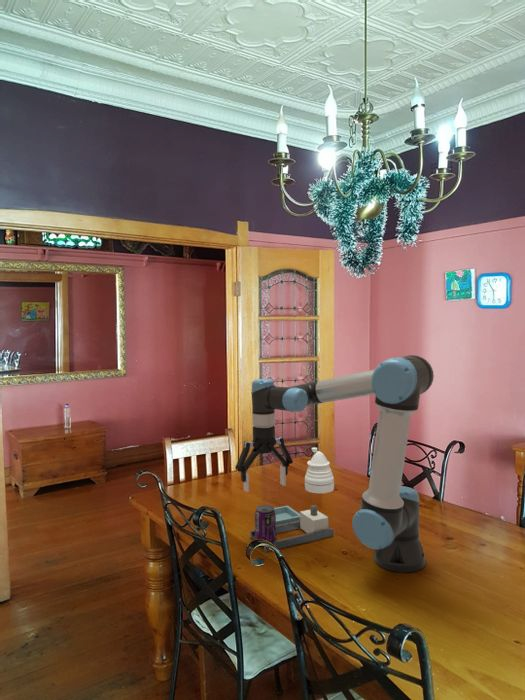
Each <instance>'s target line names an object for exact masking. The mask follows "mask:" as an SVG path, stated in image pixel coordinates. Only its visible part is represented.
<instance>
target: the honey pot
mask: <svg viewBox="0 0 525 700" xmlns="http://www.w3.org/2000/svg"><path fill="white" fill-rule="evenodd" d="M311 451H312V452H313V453H314V454H313V455H312V457H311V459H310V460H307V462H306V464H307V469H306V472H305V475H304V490H305V491H306V492H309V493H313V494H327V493H331V492H333V491H334V490H335V478H334V475H333V472H332V468H331V466H330V465H331V462H330V461H329V460H328V459H327V456H325V454H324V453H323V452H322V451H320V450H318V447H311Z"/></svg>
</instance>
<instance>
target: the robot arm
mask: <svg viewBox="0 0 525 700" xmlns="http://www.w3.org/2000/svg"><path fill="white" fill-rule="evenodd" d="M433 369H434V368H433V366H432V365H431V364H430V363H429V361H428V360H426V359H425V358H423V357H421V356H418V355H413V354H410V355H404V356H399V357H397V356H396V357H391V358H387V359H386V360H384V361H382V362H381V363H379V364H378V365H377V366H376V367H375V369H371V370H366V371H360V372H356V373H351V374H345V375H341V376H340V375H339V376H336V377H331V378H327V379H322V380H321V379H320V380H318V381H317V380H316V381H309V382H307V383H302V384H298V385H297V384H296V385H291V386H276V385H275V382H274V380H273V379H270V378H257V379H254V380H253V381H252V383H251V404H252V405H251V407H252V408H251V410H252V411H251V412H252V413H251V416H252V417H251V419H252V422H251V423H252V425H253V426H252V441H247V440H245V441H244V442H243V448H242V451H241V452H240V455H239V457H238V460H237V462H236V465H235V471H237V472H240V480H241V481H240V482H242V483H243V491H245V492H246V493H249V492H250V484H249V483H250V481H249V480H250V477H249V475H250V474H249V472H248V470H249V469H250V467H251V465H252V464H253V462H254V461H255V460H256V458H257V457H258V456H259V455H263V454H270V453H272V455H274V457H275V458H276V459H277V460H278V461H279V462H280V463H281V464H279V480H280V481H279V483H280V485H282V486H283V487H286V486H287V484H286V483H287V478H286V477H287V475H288V471H289V466H290V464H293V463H294V461H293V459H292V457H291V455H290V453H289V451H288V449H287V447H286V445H285V439H284V438H282V437H280V436H278V437H277V438H276V426H275V424H276V419H275V417H276V415H275V413H276V411H275V410H277V411H278V410H279V411H286V412H290V413H294V412H297V413H301V412H303V411H304V409H306V407H308V406H312V405H318V404H319V405H320V404H324V403H330V402H335V401H343V400H349V399H354V398H360V397H366V396H373V395H374V396H375V397H374V398H375V399H374V404H375V406H377V408H378V409H379V411H378V420H377V425H376V431H375V433H376V434H375V440H374V441H375V442H374V447H373V456H372V461H371V469H370V477H369V482H368V483H369V484H368V489H367V490H365V491H364V492H363V493H362V496H361V502H360V508H359V510H358V511H356V512H355V514H354V515H353V517H352V520H351V521H352V522H351V523H352V524H351V526H352V531H353V533H354V535H355V536H356V537H357V539H358V541H359V542H360V543H361V544H362V545H364V546H365V547H367V548H369V549H372V550H374V552H373V553H374V556H373V557H374V561H375V563H376V564H377V565H378V566H380V567H381V568H382V569H384V570H387V571H391V572H394V573H396V572H397V573H415V572H418V571H420V570H422V569H423V568H425V565H426V556H425V552H424V549H423V546H422V543H421V540H420V502H421V501H420V497H419V492H418V491H417V490H416V489H414V488H412V487H408V486H404V485H402V480H403V472H404V466H405V459H406V453H407V446H408V439H409V432H410V424H411V418H412V415H413V414H415V412H417V411H418V410H419V405H420V399H421V398H420V397H421V395H422V394H424V393H426V392H427V391H428V390H429V389H430V388H431V386H432V385H433V382H434V378H435V377H434V376H435V375H434V371H433ZM276 444H277V445H278V446H279V449H280V451H281V453H282V454H283V456H282V455H281V454H280V453H279V452H278V450H277V449H276V448H275V446H276ZM252 447H253V448H252ZM250 449H252V450H251V453H250V454H249V452H250Z"/></svg>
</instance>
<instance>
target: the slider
mask: <svg viewBox="0 0 525 700" xmlns="http://www.w3.org/2000/svg"><path fill="white" fill-rule="evenodd" d="M309 507H310V509H306V510H301V511H299V514H300V529H301V530H302V531H304V532H305V534H307V533H311V532H316V531H320V530H325V529H329V516H327V515H325V514H324V513H322V512H320V511H319V510H318V505H316V504H311V505H310V506H309Z"/></svg>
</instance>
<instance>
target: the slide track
mask: <svg viewBox="0 0 525 700" xmlns="http://www.w3.org/2000/svg"><path fill="white" fill-rule="evenodd" d="M299 529H301V528H300V520H298V521H294V522H289V523H284V524H279V525H276V535H277V534H280V533H281V532H282V533H285V532H291V531H294V530H295V531H296V530H299ZM331 537H334V528H332V527H330V528H329V529H325V530H320V531H316V532H311V533H303V534H299V535H294V536H289V537H284V538H282V539H276V541H271V543H272V544H273V545H275V546H276V547H277V548H279V549H278V550H280V549H284V548H289V547H293V546H298V545H302V544H306V543H310V542H311V543H312V542H315V541H320V540H323V539H328V538H331ZM249 538H250V539H251V540H253V539H254V540H255V529H253V530H249ZM263 551H264V552H265V553H267V552H272V551H271V550H270V549H269V547H266V546H263Z"/></svg>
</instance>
